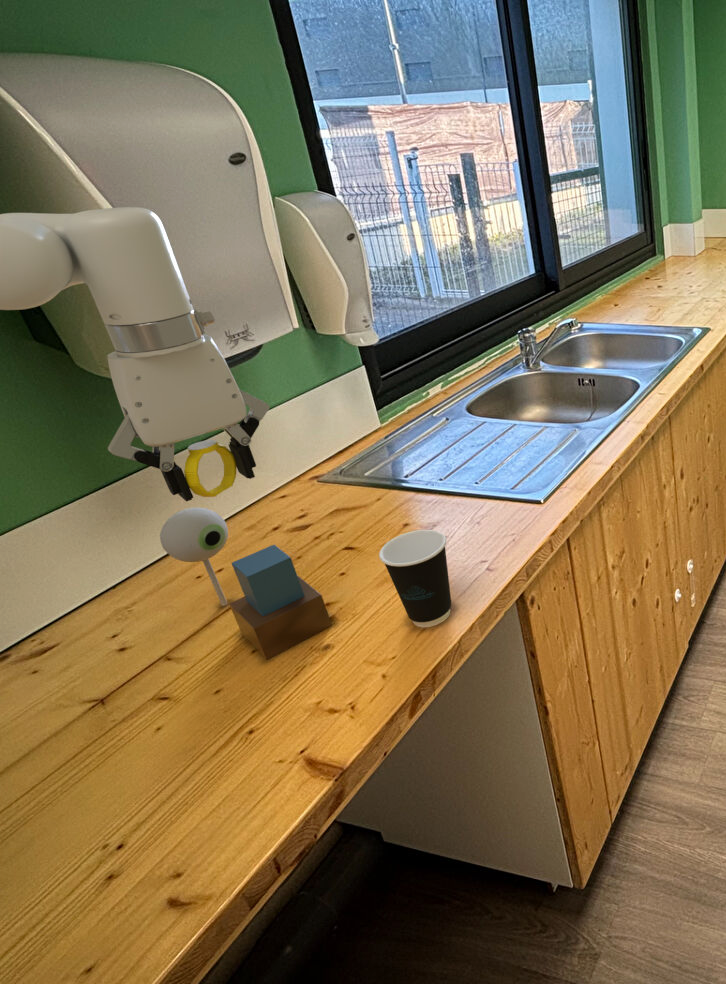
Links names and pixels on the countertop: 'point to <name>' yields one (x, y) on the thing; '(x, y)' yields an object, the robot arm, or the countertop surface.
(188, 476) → the watch
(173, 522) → the lollipop
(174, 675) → the countertop surface
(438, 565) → the dixie cup
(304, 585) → the base block
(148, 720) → the countertop surface
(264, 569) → the top block
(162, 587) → the countertop surface
